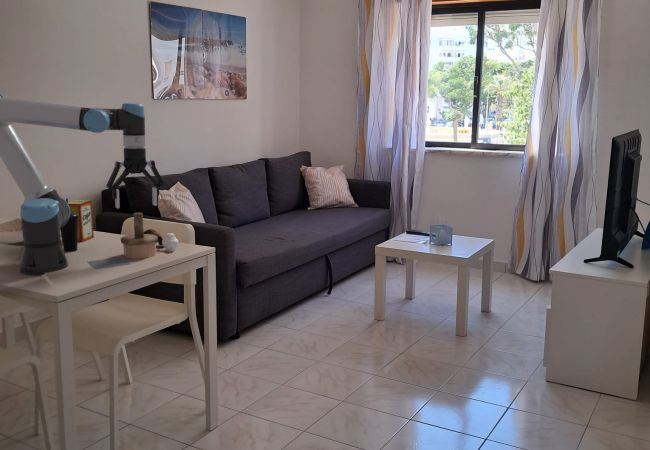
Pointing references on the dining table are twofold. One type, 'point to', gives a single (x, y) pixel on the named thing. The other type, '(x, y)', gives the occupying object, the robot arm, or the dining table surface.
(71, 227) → the drinking cup
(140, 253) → the terracotta bowl
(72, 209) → the baking soda box
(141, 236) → the walnut lid
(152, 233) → the pottery mug
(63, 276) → the dining table surface
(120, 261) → the grey mat
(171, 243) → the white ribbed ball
